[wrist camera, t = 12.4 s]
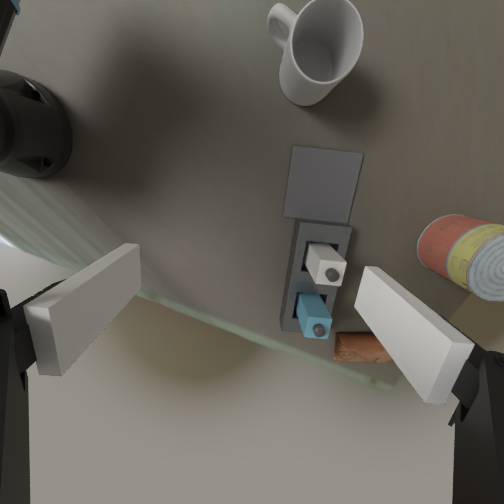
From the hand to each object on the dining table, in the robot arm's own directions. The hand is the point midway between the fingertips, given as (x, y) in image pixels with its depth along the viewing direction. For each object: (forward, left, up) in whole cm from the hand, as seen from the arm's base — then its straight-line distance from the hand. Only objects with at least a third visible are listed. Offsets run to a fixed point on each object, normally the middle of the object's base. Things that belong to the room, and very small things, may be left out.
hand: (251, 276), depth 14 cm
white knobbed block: (+13, -8, -31) cm, 35 cm away
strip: (+13, -13, -32) cm, 37 cm away
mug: (+5, +21, -32) cm, 39 cm away
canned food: (+38, -4, -32) cm, 50 cm away
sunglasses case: (+30, -29, -32) cm, 53 cm away
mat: (+12, +4, -32) cm, 34 cm away
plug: (+13, -18, -31) cm, 38 cm away
